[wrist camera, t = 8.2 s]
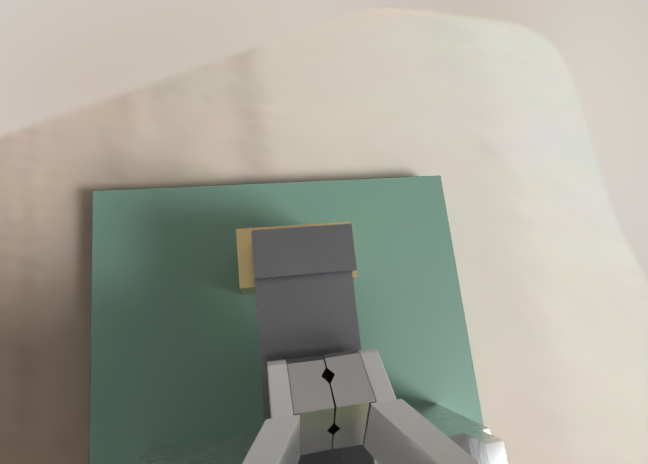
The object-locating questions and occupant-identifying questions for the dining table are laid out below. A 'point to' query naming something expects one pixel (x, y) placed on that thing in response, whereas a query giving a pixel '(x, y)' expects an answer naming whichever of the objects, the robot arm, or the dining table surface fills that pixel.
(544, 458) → the dining table surface
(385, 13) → the dining table surface
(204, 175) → the dining table surface
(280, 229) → the block
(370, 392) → the robot arm
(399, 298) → the circuit board
